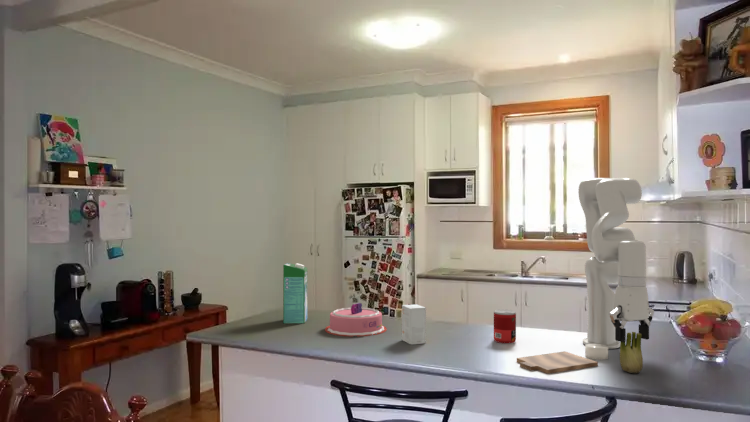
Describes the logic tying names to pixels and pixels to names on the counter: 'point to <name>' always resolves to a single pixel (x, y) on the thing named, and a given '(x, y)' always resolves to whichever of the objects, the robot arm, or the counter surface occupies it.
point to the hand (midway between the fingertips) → (632, 339)
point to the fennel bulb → (631, 353)
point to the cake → (355, 321)
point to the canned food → (504, 326)
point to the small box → (414, 324)
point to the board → (555, 362)
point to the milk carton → (294, 293)
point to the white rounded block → (596, 351)
